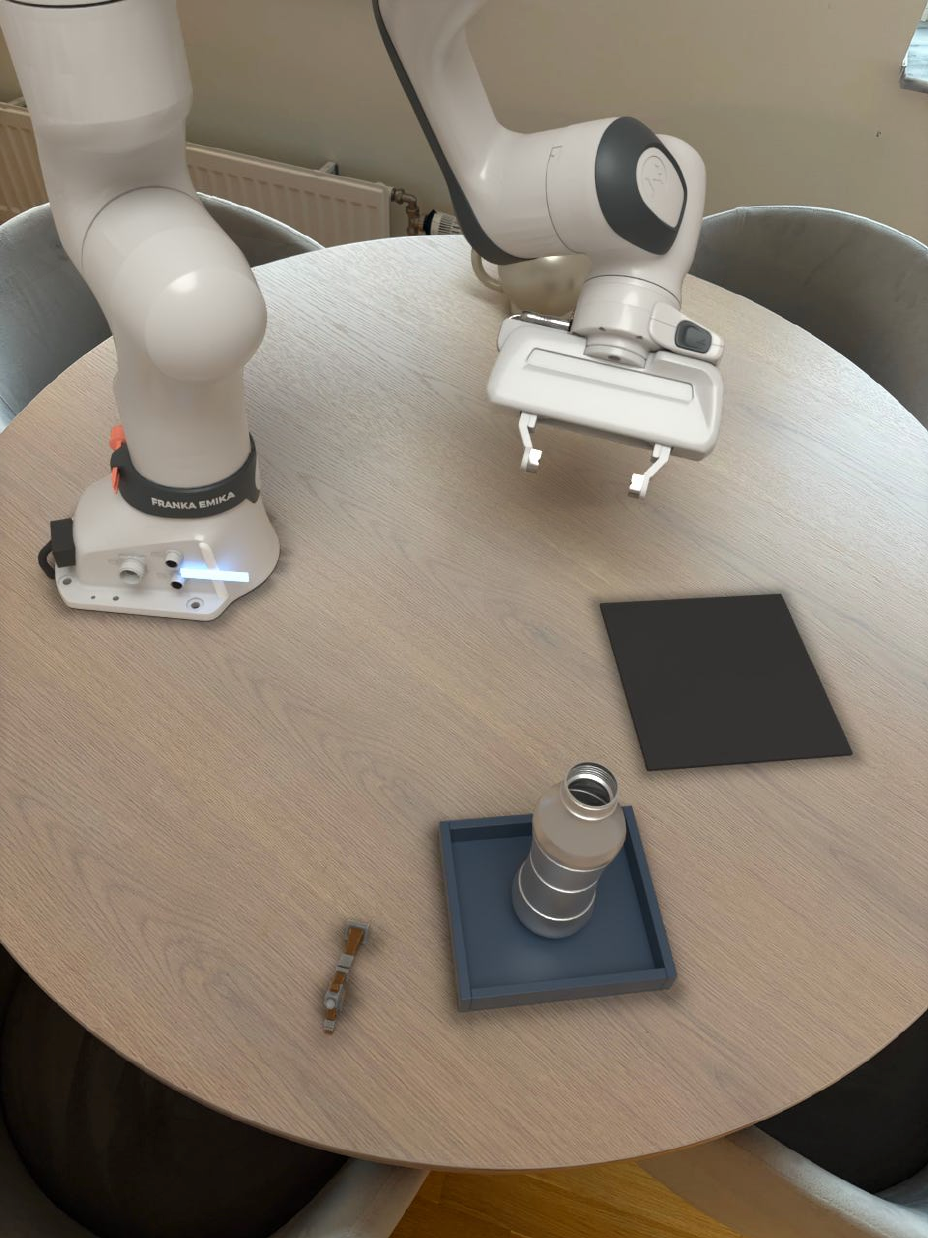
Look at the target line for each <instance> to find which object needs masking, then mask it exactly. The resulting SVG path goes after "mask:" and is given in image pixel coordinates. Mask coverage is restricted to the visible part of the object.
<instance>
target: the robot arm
mask: <svg viewBox="0 0 928 1238" xmlns="http://www.w3.org/2000/svg"><path fill="white" fill-rule="evenodd" d="M489 1H490V0H371V4H372V10H373V14H374V19H375V22H376V26H377V29H378V32H379V34H380V37H381V41H382V42H383V46H384V48H385V50H386V52H387V56H388V57H389V60H390V62H391V65H392V67H393V69H394V71H395V73H396V76H397V78H398V81H399V83H400V85H401V87H402V90H403V92H404V93H405V96H406V97H407V100H408V102H409V105H410V107H411V108H412V111H413V112H414V115H415V118H416V120H417V121H418V124H419V126H420V128H421V130H422V133H423V134H424V136H425V139H426V141H427V144H428V145H429V147H430V149H431V152H432V154H433V156H434V158H435V161H436V163H437V165H438V166H439V169H440V172H441V174H442V176H443V178H444V180H445V183H446V186H447V189H448V193H449V197H450V201H451V205H452V209H453V212H454V217H455V219H456V222H457V225H458V227H459V230H460V232H461V234H462V235H463V237H464V239H465V241H466V242H467V244H468V245H469V246H470V248H471V249H472V248H473V249H474V250H475V251H476V252H477V253H478V254H479V255H480V256H481V257H482V260H485V261H486V262H488V263H490V264H493V265H495V266H498V265H509V264H514V263H519V262H524V261H529V260H534V259H537V258H541V257H552V256H564V255H575V254H584V253H585V254H584V255H585V256H586V257H588V258H589V259H590V261H591V262H592V267H591V269H590V271H589V273H588V274H587V276H586V277H585V279H584V281H583V284H582V287H581V291H580V295H579V299H578V302H577V306H576V308H575V309H574V312H573V316H572V318H571V320H569V319H565V318H560V317H555V316H547V315H541V314H537V313H536V312H533V311H528V310H523V311H522V313H518V314H513V315H512V314H511V315H508V316H506V318H505V319H504V320H503V321H502V322H501V325H500V327H499V331H498V335H497V338H496V349H497V352H498V354H497V357H496V359H495V361H494V364H493V366H492V368H491V371H490V373H489V376H488V380H487V382H486V385H485V389H484V391H485V392H484V396H485V401H486V404H487V405H488V408H489V409H490V411H491V412H492V413H494V414H497V415H499V416H506V417H508V418H514V419H516V420H517V419H518V420H519V421H518V434H519V436H520V440H521V443H522V447H523V455H522V459H521V462H520V471H521V472H525V473H529V474H533V475H538V472H539V469H540V464H541V462H542V457H543V451H542V450H539V449H535V448H534V447H533V443H532V440H531V439H532V438H531V435H534V434H536V429H537V427H538V425H542V426H547V427H551V428H553V429H559V430H563V431H567V432H572V433H576V434H580V435H585V436H589V437H592V438H598V439H600V440H606V441H610V442H612V443H613V442H614V443H618V444H622V445H626V446H630V447H635V448H638V449H643V450H646V451H651V455H650V459H649V462H650V463H651V466H650V467H649V468H648V469H647V470H646V471H644V473H643V474H638V473H633V474H632V475H631V479H630V482H629V488H628V490H627V495H626V497H628V498H632V499H635V500H639V501H644V500H645V499H646V494H647V492H648V487H649V483H650V482H651V481H652V480H653V479H654V478H655V477H656V476H657V475H658V474H659V473H660V472H661V471H662V470H663V469H664V468H665V467H666V466H667V464H668V462H669V458H670V456H672V457H677V458H681V459H684V460H689V461H694V462H701V461H703V460H705V459H706V458H708V457H709V456H710V455H711V454H712V453H713V452H714V450H715V449H716V446H717V442H718V439H719V435H720V429H721V425H722V418H723V411H724V402H725V381H724V377H723V375H722V373H721V370H719V367H720V365H721V363H722V360H723V357H724V353H725V347H726V342H725V339H724V337H722V336H721V335H720V334H719V333H717V332H716V331H713V330H711V328H708V327H707V326H705V325H703V324H701V323H700V322H698V321H696V320H695V319H693V318H691V317H689V316H688V315H686V314H685V313H683V312H682V311H681V309H682V305H683V294H682V289H683V283H684V281H685V278H686V276H687V274H688V273H689V272H690V270H691V267H692V266H693V263H694V259H695V255H696V253H697V252H696V251H697V248H698V245H699V244H698V243H699V240H700V235H701V229H702V226H703V225H702V224H703V219H704V212H705V205H706V195H707V170H706V166H705V163H704V160H703V158H702V157H701V155H700V154H699V152H698V151H697V150H696V149H695V148H694V147H693V146H691V144H689V143H688V142H686V141H685V140H683V139H681V138H679V137H676V136H673V135H669V134H664V133H663V134H662V133H654V131H653V130H652V129H651V128H649V126H647V125H646V124H645V123H644V122H642V121H640V120H639V119H637V118H635V117H633V116H612V117H605V118H601V119H593V120H588V121H583V122H579V123H574V124H571V125H568V126H564V127H563V126H562V127H558V128H553V129H548V130H547V129H546V130H543V131H537V132H531V133H521V132H517V131H514V130H510V129H508V128H507V127H504V126H503V125H502V124H501V123H500V122H499V121H498V120H497V117H496V116H495V113H494V110H493V107H492V105H491V103H490V101H489V97H488V95H487V92H486V90H485V87H484V85H483V82H482V80H481V76H480V74H479V71H478V68H477V66H476V63H475V61H474V58H473V56H472V53H471V51H470V48H469V45H468V42H467V36H466V24H467V23H468V22H469V21H470V20H471V19H472V18H474V16H475V15H477V13H478V12H479V11H480V10H481V9H482V8H483V7H484V6H485V5H487V3H488V2H489ZM0 29H1V32H2V35H3V38H4V41H5V44H6V47H7V50H8V53H9V56H10V60H11V63H12V65H13V68H14V71H15V74H16V77H17V80H18V84H19V86H20V89H21V92H22V95H23V99H24V102H25V104H26V108H27V112H28V114H29V118H30V122H31V126H32V130H33V134H34V139H35V145H36V151H37V155H38V161H39V165H40V170H41V173H42V179H43V182H44V186H45V187H44V188H45V191H46V196H47V199H48V202H49V206H50V210H51V213H52V219H53V221H54V226H55V229H56V231H57V236H58V238H59V241H60V244H61V246H62V248H63V250H64V253H66V255H67V257H68V258H69V260H70V261H71V263H72V264H73V266H74V267H75V268H76V270H77V272H78V273H79V275H80V276H81V278H82V279H83V281H84V282H85V284H86V285H87V286H88V288H89V290H90V291H91V293H92V294H93V296H94V298H95V300H96V302H97V303H98V305H99V307H100V309H101V312H102V313H103V315H104V318H105V320H106V321H107V324H108V326H109V329H110V333H111V335H112V338H113V342H114V346H115V351H116V361H117V362H116V363H117V372H116V373H115V376H114V378H113V382H112V392H113V396H114V401H115V404H116V407H117V411H118V416H119V419H120V423H121V424H119V425H114V426H113V427H112V429H111V430H110V440H109V442H108V444H109V447H110V448H111V450H113V452H112V453H111V456H110V460H109V466H110V471H111V472H109V473H107V474H106V475H104V476H103V477H101V478H99V479H97V480H95V481H93V482H91V483H90V484H89V485H88V486H87V488H85V490H84V491H83V492H82V495H81V496H80V498H79V500H78V502H77V504H76V508H75V510H74V515H73V516H72V517H68V518H63V519H56V520H50V521H49V526H50V527H49V528H50V540H48V542H47V543H46V544H45V545H44V546H42V548H41V549H40V550H39V552H38V555H37V562H38V565H39V567H40V568H41V570H42V571H43V572H44V573H45V575H46V576H47V577H48V578H49V579H50V578H55V583H56V589H57V591H58V594H59V596H60V599H61V600H62V601H63V603H64V605H66V606H67V607H68V608H70V609H71V608H72V609H76V610H87V611H95V612H106V613H116V614H117V613H118V614H130V615H137V616H138V615H139V616H147V617H150V616H151V617H159V618H169V619H182V620H191V621H202V622H208V621H213V620H215V619H216V618H218V617H220V616H221V615H222V614H223V613H224V612H225V611H226V610H227V608H228V607H229V606H230V605H231V604H232V602H234V601H236V599H238V598H240V597H242V596H244V595H246V594H248V593H250V592H252V591H253V590H255V589H256V588H258V587H259V586H260V585H261V584H262V583H264V582H265V581H266V580H267V578H268V577H270V575H271V574H272V572H273V571H274V570H275V568H276V566H277V564H278V561H279V558H280V553H281V544H280V543H281V542H280V539H279V536H278V533H277V531H276V530H275V527H273V525H272V523H271V521H270V518H269V516H268V514H267V512H266V509H265V506H264V501H263V499H262V496H261V489H262V477H261V476H262V475H261V467H260V460H259V459H260V458H259V453H258V451H257V447H256V443H255V439H254V437H253V435H252V433H251V431H250V429H249V419H248V412H247V406H246V397H245V390H244V389H245V388H244V369H245V366H246V365H247V364H248V363H249V362H250V361H251V360H252V358H254V356H255V355H256V353H257V352H258V350H259V349H260V347H261V346H262V343H263V341H264V338H265V335H266V332H267V327H268V309H267V304H266V300H265V298H264V295H263V293H262V291H261V288H260V285H259V283H258V281H257V278H256V276H255V274H254V272H253V269H252V268H251V266H250V263H249V262H248V259H247V258H246V256H245V254H244V252H243V251H242V249H240V247H239V246H238V245H237V244H236V243H235V242H234V240H233V239H232V238H231V237H230V236H229V234H228V233H227V232H226V231H225V230H224V229H223V228H222V226H220V224H219V223H218V222H217V221H216V220H215V219H214V218H213V217H212V215H211V214H210V212H209V211H208V210H207V209H206V207H205V206H204V203H203V201H202V200H201V198H200V197H199V194H198V192H197V190H196V188H195V185H194V183H193V180H192V177H191V174H190V170H189V165H188V160H187V159H188V157H187V117H188V116H189V114H190V112H191V110H192V108H193V104H194V87H193V82H192V75H191V71H190V66H189V61H188V56H187V50H186V46H185V40H184V36H183V30H182V25H181V21H180V14H179V10H178V5H177V0H0ZM516 318H520V320H516ZM50 553H51V554H52V555H53V559H54V561H55V562H54V565H55V566H54V568H53V567H52V565H51V564H50V563H49V562H48V557H49V555H50Z"/></svg>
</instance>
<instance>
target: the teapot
mask: <svg viewBox="0 0 928 1238" xmlns="http://www.w3.org/2000/svg"><path fill="white" fill-rule="evenodd" d="M584 254H585V253H584ZM584 254H575V255H564V256H552V257H541V258H537V259H534V260H529V261H524V262H519V263H514V264H509V265H497V274H498V279H499V280H498V279H496V278H494V277H492V276H490V274H488V272H487V271H486V270H485V268H484V265H483V258H482V257H481V256H480V255H479V254H478V253H477V252H476V251H475V250H474V249H473V248H472V247H471V251H470V264H471V268H472V270H473V273H474V275H475V276H476V278H477V280H478V281H479V282H480V283H481V284H482V285H484V286H485V287H487V288H488V289H490V290H492V291H495V292H498V293H501V294H505V295H506V297H507V298H508V300H509V301H510V303H509V309H510V310H509V311H510V313H511V315H513V314H518V313H522V311H523V310H528V311H533V312H536V313H537V314H541V315H547V316H555V317H560V318H565V319H569V320H572V319H573V317H574V311H575V310H576V306H577V302H578V299H579V295H580V291H581V287H582V284H583V281H584V279H585V277H586V276H587V274H588V273H589V271H590V269H591V267H592V262H591V261H590V259H589V258H588V257H586V256H585V255H584ZM515 320H520V318H516V319H515Z"/></svg>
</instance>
